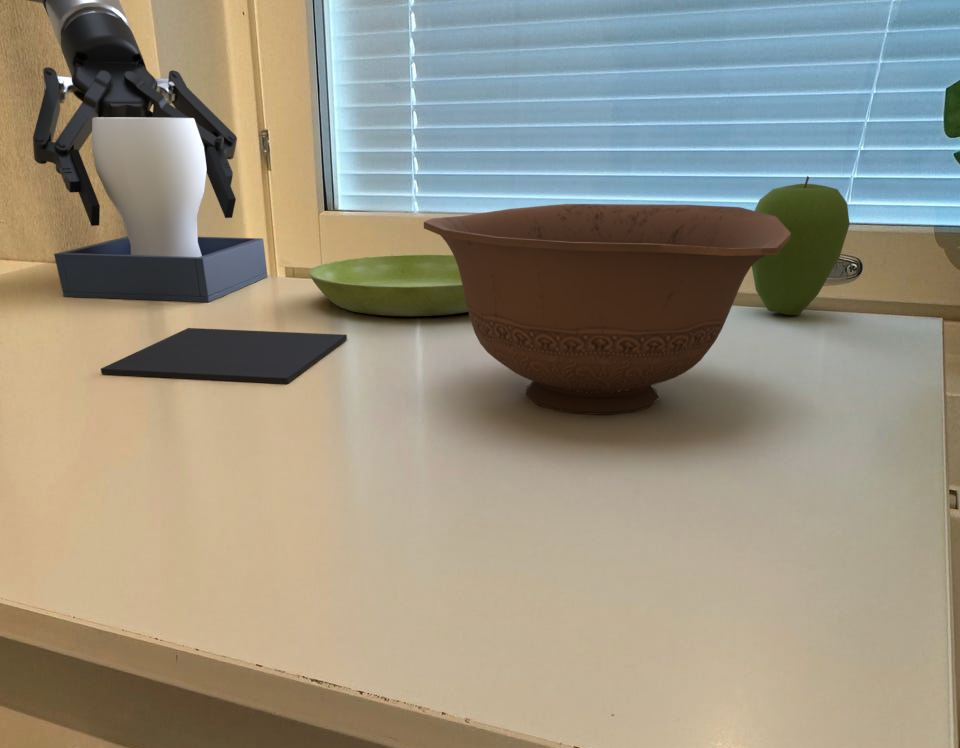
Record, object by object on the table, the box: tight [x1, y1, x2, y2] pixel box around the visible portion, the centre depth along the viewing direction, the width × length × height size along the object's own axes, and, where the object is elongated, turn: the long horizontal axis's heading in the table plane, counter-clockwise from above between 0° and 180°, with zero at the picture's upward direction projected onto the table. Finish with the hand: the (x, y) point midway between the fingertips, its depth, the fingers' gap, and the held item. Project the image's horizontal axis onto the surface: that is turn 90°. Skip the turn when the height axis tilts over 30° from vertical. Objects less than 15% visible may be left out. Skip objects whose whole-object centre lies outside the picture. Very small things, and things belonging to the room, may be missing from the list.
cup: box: [91, 117, 207, 257], centre depth 91 cm, size 11×11×15 cm
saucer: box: [308, 253, 469, 317], centre depth 86 cm, size 21×21×3 cm
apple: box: [751, 175, 851, 316], centre depth 80 cm, size 9×8×12 cm
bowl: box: [423, 203, 791, 415], centre depth 56 cm, size 22×22×11 cm
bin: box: [53, 235, 269, 303], centre depth 94 cm, size 16×16×4 cm
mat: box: [100, 327, 348, 385], centre depth 68 cm, size 14×14×1 cm
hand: (165, 212), depth 89 cm, fingers open, 13 cm apart
